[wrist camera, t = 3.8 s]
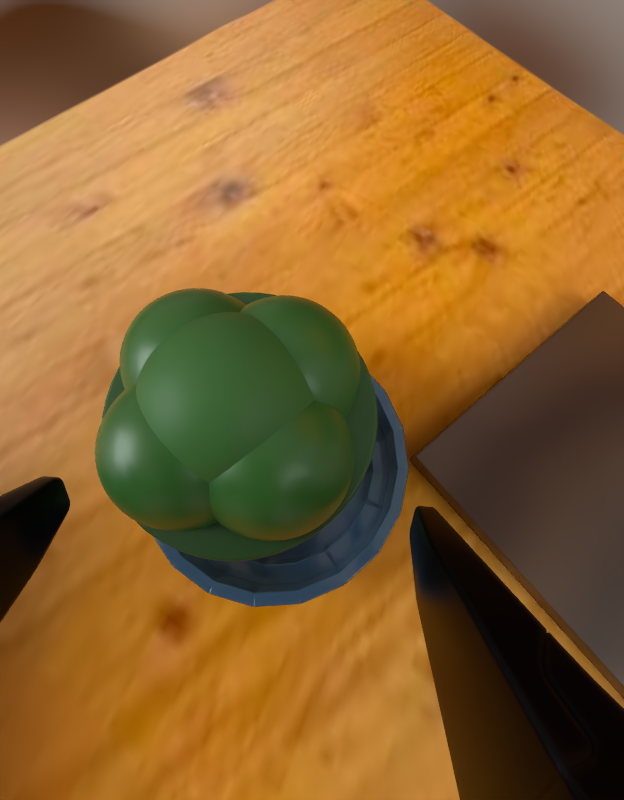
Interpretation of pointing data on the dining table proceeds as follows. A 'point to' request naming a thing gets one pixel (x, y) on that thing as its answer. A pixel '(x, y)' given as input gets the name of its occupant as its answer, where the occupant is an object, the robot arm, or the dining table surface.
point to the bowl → (318, 535)
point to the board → (551, 477)
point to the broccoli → (236, 422)
